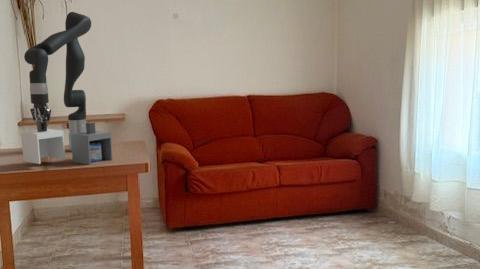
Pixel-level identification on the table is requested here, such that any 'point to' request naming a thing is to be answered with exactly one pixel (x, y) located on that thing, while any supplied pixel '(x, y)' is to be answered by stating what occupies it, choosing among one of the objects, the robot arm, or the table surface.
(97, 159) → the medicine box
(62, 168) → the table surface
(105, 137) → the box
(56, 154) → the grey hood
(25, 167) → the table surface
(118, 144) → the table surface
